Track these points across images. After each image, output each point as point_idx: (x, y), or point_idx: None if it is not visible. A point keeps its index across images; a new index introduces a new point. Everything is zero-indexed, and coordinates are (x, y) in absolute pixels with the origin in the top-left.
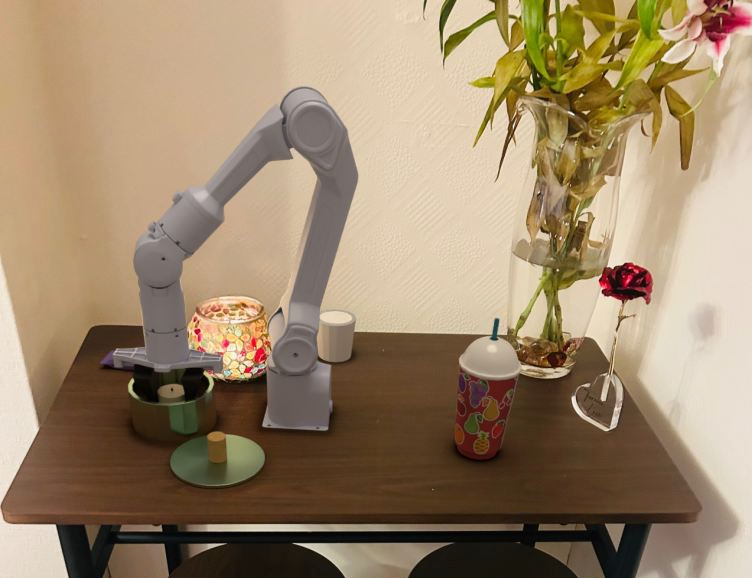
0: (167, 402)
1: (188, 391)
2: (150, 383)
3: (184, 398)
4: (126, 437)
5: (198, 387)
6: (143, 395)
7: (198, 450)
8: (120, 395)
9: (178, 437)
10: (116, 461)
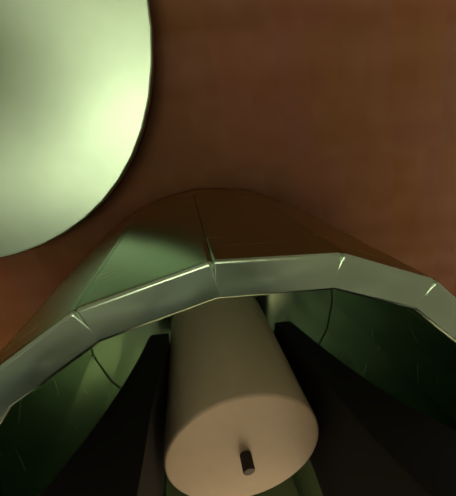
0: (250, 366)
1: (101, 482)
2: (428, 491)
3: (169, 416)
4: (353, 222)
5: None
6: None
7: (24, 94)
8: None
9: (166, 203)
10: (378, 49)
